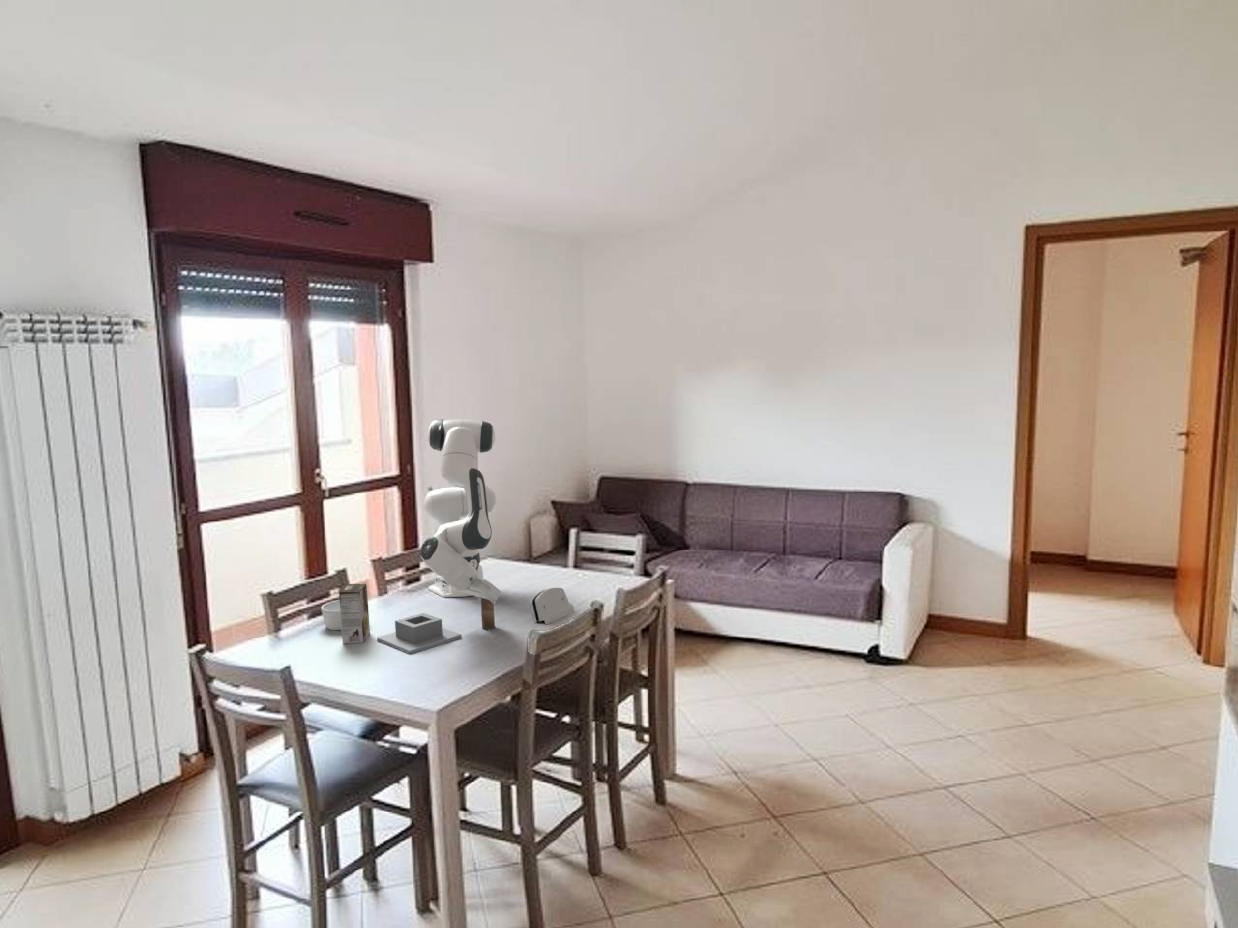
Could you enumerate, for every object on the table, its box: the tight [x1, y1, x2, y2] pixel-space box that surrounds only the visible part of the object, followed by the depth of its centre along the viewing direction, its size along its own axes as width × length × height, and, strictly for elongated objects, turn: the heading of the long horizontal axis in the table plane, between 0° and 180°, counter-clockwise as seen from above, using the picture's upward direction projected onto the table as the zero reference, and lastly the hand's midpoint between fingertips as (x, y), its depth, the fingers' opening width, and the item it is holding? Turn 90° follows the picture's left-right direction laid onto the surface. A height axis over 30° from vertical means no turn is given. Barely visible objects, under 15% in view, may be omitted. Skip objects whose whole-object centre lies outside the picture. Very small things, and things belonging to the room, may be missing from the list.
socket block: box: [376, 612, 463, 654], centre depth 239 cm, size 18×18×6 cm
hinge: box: [529, 587, 575, 625], centre depth 258 cm, size 17×5×10 cm, turn 150°
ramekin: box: [321, 599, 342, 631], centre depth 254 cm, size 13×13×7 cm
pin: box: [480, 598, 496, 631], centre depth 247 cm, size 4×4×12 cm
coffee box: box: [338, 583, 371, 645], centre depth 240 cm, size 9×6×16 cm
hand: (488, 599), depth 248 cm, fingers open, 4 cm apart
